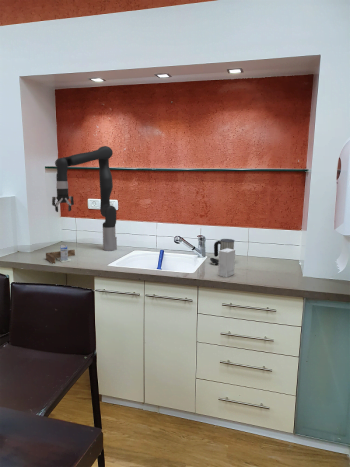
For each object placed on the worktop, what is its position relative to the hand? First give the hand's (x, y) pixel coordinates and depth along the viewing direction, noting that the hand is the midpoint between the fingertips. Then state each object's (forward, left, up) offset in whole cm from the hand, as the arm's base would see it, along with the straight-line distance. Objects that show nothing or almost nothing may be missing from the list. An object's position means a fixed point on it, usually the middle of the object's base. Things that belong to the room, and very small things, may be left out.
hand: (63, 211), depth 239 cm
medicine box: (+6, +15, -30) cm, 34 cm away
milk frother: (-75, +80, -30) cm, 114 cm away
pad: (+6, +15, -30) cm, 34 cm away
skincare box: (-58, +101, -30) cm, 120 cm away
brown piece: (+6, +14, -30) cm, 34 cm away
